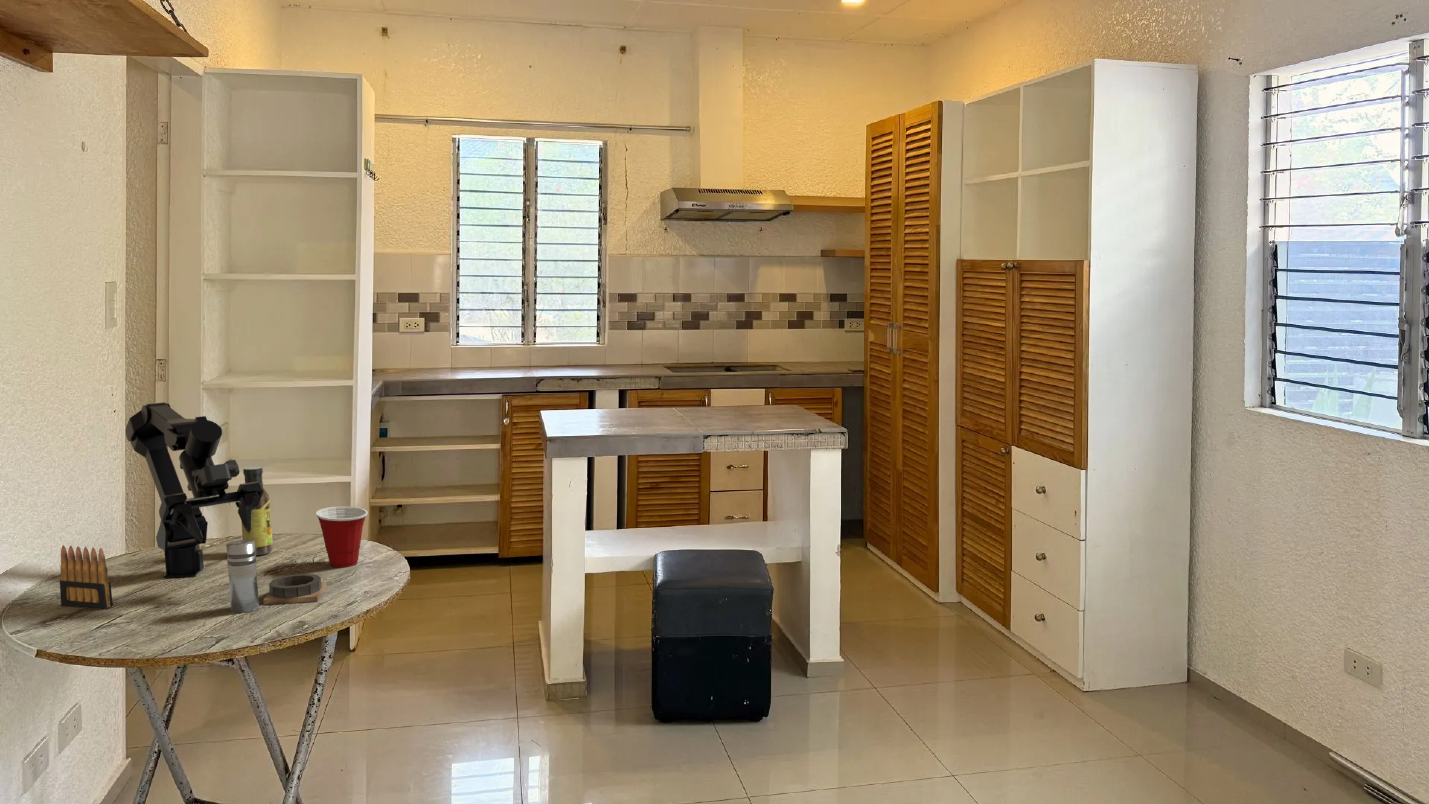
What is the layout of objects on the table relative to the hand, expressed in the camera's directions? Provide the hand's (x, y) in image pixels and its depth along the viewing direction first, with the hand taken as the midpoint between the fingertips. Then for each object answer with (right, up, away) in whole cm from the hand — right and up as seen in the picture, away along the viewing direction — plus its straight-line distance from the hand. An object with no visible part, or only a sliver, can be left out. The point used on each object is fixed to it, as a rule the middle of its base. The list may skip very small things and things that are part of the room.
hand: (225, 535), depth 216 cm
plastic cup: (+14, -10, +27) cm, 32 cm away
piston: (+5, -14, -3) cm, 15 cm away
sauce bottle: (-9, -9, +36) cm, 38 cm away
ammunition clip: (-27, -14, -1) cm, 30 cm away
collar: (+12, -12, +5) cm, 18 cm away
